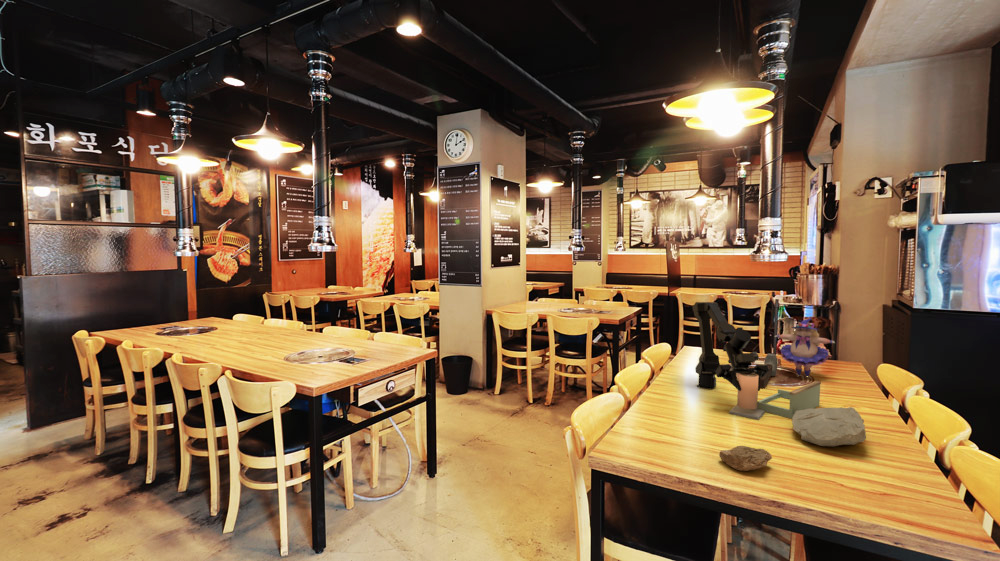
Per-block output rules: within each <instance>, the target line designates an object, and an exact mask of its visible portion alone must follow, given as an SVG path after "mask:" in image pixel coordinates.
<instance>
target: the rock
mask: <svg viewBox="0 0 1000 561" xmlns="http://www.w3.org/2000/svg"><path fill="white" fill-rule="evenodd" d="M718 454H719V458H720V460H722V461H723V463H725V464H726V465H727V466H729V467H731V468H733V469H735V470H737V471H741V472H742V471H743V472H747V471H756V470H758V469H762V468H765V467H767V465H768V462H769V461H770V460H772V459H773V456H772V454H771V453H770V452H769V451H768V450H766V449H764V448H755V447H751V446H745V445H736V446H735V447H733V448H731V449H723V450H720V451H719V453H718Z"/></svg>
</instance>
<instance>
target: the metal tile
mask: <svg viewBox="0 0 1000 561" xmlns="http://www.w3.org/2000/svg"><path fill="white" fill-rule="evenodd" d="M728 412H729V413H728V414H729V415H733V416H737V417H743V418H746V419H752V420H756V421H759V420H760V419H762V417H763V416H764V414H765V413H766V412H765V410H760V409H744V408H741V407H739V406H737V404H736V405H734V407H732V408H731V409H730V410H729V411H728Z"/></svg>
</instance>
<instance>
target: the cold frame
mask: <svg viewBox="0 0 1000 561" xmlns="http://www.w3.org/2000/svg"><path fill="white" fill-rule="evenodd" d="M821 385H822V382H821V381H818V380H815V381H812V382H810V383H808V384H806V385H803V386H801V387H799V388H796V389H794V390H792V391H788V390H784V389H780V388H779V389H777V393H774V394H771V395H769V396H768V397H767V396H766V397H764V398H762V399H760V400H759V399H758V403H757V409H760V410H765V413H770V414H773V415H776V416H780V417H785V418H788V419H790V420H792V417H793V415H794V413H795V411H796V410H797V411H798V410H805V409H809V408H812V409H817V407H818V408H819V406H820V401H821V399H820V397H821V395H820V394H821ZM779 398H783V399H787V400H789V408H785V407H782V406H778V405H773V404H770V403H769V402H772V401H774V400H777V399H779Z"/></svg>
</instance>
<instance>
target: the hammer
mask: <svg viewBox="0 0 1000 561" xmlns="http://www.w3.org/2000/svg"><path fill="white" fill-rule="evenodd" d="M763 364H765V365H767V366H768V368H769V371H768V372H767V374H766V375H765V376H764V377H760V389H763V388H764V389H765V388H766V387H767V385H768V382H769V380H770V378H771V377H773V376H775V377H776V375H777V373H778V357H777V355H776V354H775V353H767V354H766V355H765V358H764V362H763Z"/></svg>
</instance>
